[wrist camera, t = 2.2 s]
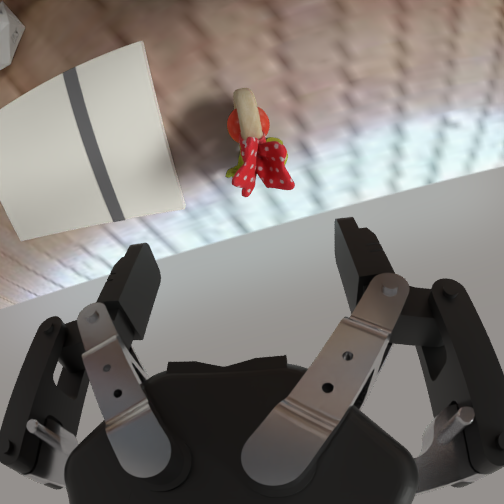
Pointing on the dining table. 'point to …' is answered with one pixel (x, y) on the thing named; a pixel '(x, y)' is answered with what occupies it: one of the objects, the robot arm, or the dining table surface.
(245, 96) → the bird rattle
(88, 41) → the dining table surface
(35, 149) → the mat
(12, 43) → the die
